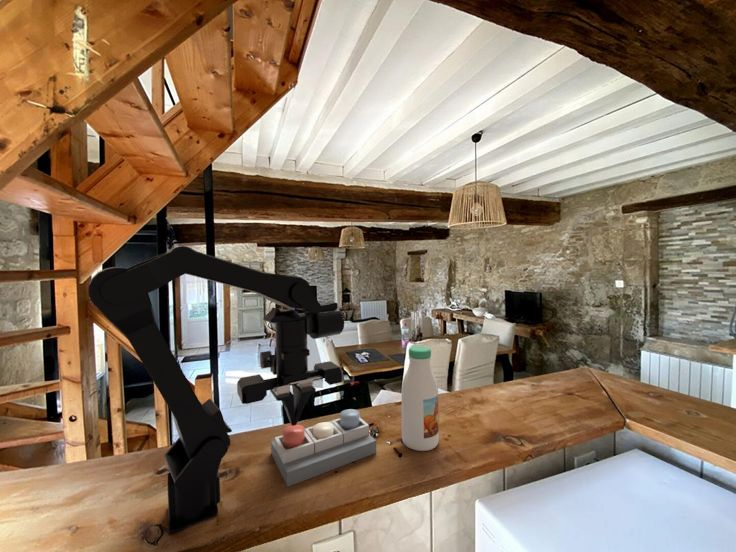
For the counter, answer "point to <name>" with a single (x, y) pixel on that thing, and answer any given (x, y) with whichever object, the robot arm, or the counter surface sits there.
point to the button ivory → (322, 430)
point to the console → (322, 452)
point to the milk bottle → (420, 402)
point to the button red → (293, 436)
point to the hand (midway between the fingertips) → (293, 424)
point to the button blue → (349, 419)
